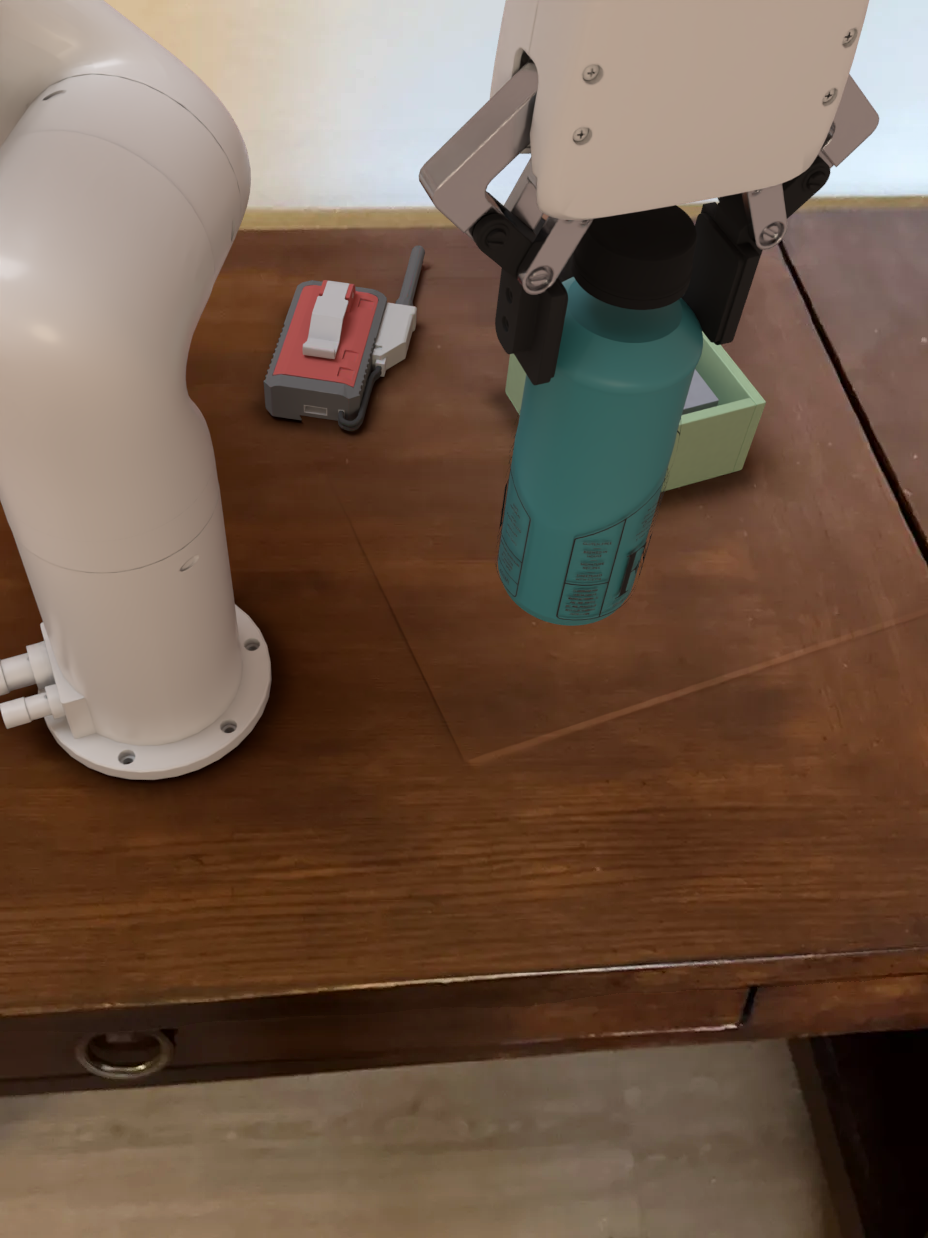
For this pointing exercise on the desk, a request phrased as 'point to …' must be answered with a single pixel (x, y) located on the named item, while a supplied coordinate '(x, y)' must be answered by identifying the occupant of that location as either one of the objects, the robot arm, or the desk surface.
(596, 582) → the beverage bottle
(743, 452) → the crate
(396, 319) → the walkie-talkie
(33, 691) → the desk surface
